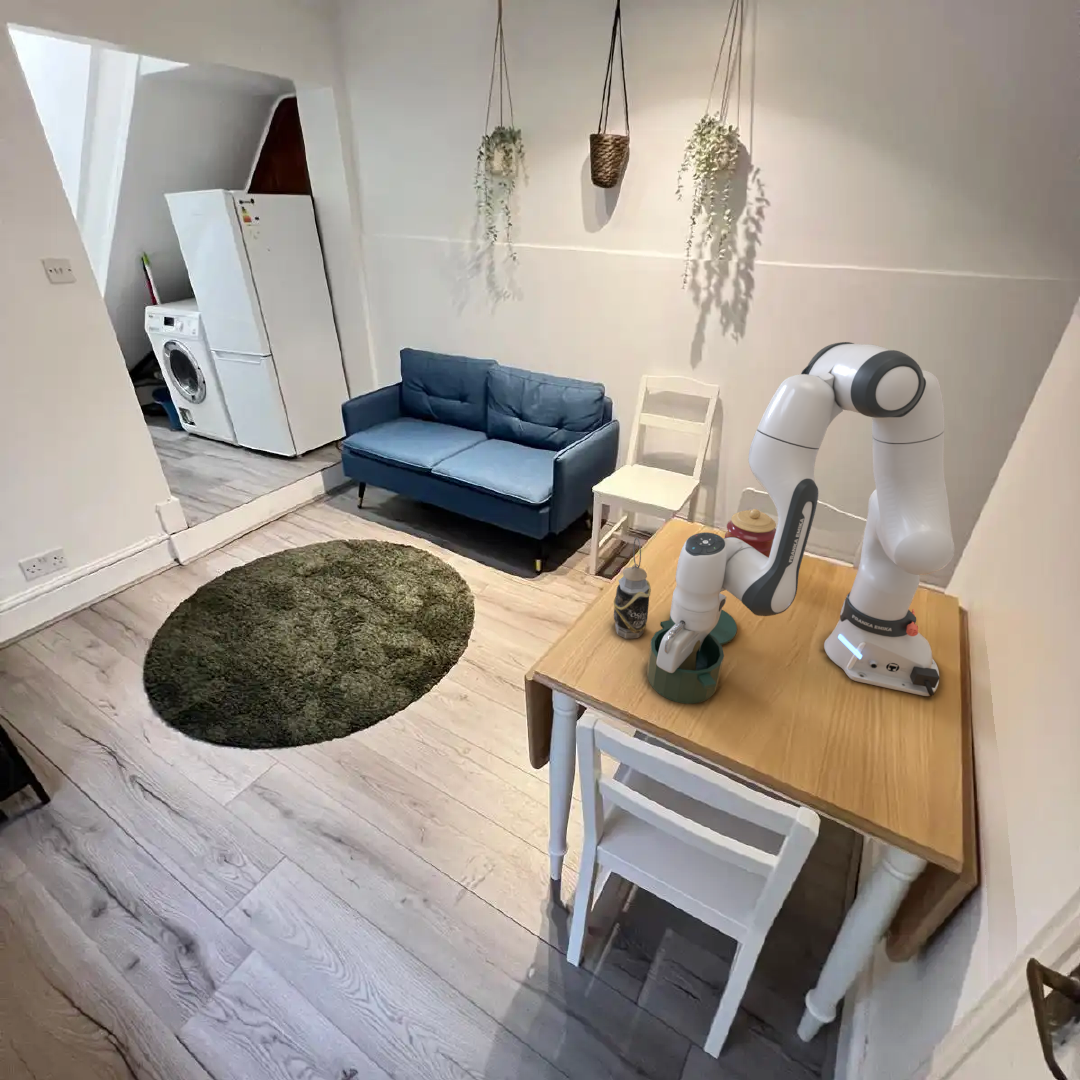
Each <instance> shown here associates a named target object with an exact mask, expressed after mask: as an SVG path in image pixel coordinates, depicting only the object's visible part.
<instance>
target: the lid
mask: <svg viewBox="0 0 1080 1080" xmlns="http://www.w3.org/2000/svg"><path fill="white" fill-rule="evenodd" d="M668 619H669V620H671V622H672V623H673V624H674V625H675V624H676V623H675V622H674V621H673V620H672V619H671V616H670V615H669V618H668ZM737 631H738V625H737V623H736V620H735V619H734V618H733V616H732V615H730V613H728V612H727V611H725V610H724V609H722V610H721V614H720V617H719V620H718V622H717V624H716V626H715V627H714V628H713V630H712V631H711V632H710V633H709V634H711V635H712V636H714V637H715V638H716V639H717V640H718V642H719V643H720V644H721V645H722V646H723V645H725V644H728V643H729V642H731V641H732V640H733V639H734V638H735V637H736V634H737Z"/></svg>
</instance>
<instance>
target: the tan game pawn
mask: <svg viewBox="0 0 1080 1080" xmlns="http://www.w3.org/2000/svg"><path fill="white" fill-rule="evenodd" d="M699 648H700V640H698V641H697V642H696V644H695V646H694V648H693V651H692V653H691V654H690V655H689V656H688V657H687V658H686V659H685V660H684V662H683V663H682V664H681V665H680V666H679V667H681V669H685V670H695V671H696V652H697V651H698V649H699Z"/></svg>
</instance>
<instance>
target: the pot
mask: <svg viewBox="0 0 1080 1080" xmlns="http://www.w3.org/2000/svg"><path fill="white" fill-rule="evenodd" d="M659 626H660V627H661V629H659V630H658V631H656V632H655V633H654V635H652V638H651V639H650V644H649V651H648V652H649V653H648V659H647V660H648V661H647V667H646V669H647V673H646V676H647V681H648V682H649V683H648V684H650V686H651V688H652V689H653V690H654V691H655V692H656V693H657V694H659V695H660V696H661V697H663V698H665V699H667V700H669V701H672V702H675V703H678V704H685V705H686V704H687V705H690V704H691V705H693V704H700V703H704V702H705V701H707V700H709V699H710V698H712V697H713V696H714V694H715V693H716V691H717V689H718V686H719V682H720V678H721V673H722V668H723V663H724V659H725V654H724V653H725V652H724V648H723V645H721V644H720V643H719V642H718V640H717V639H716V638H715V637H714V636H712V635H711V634H708V635H707V636H706V637H705V638H704V641H703V643H702V645H701V648H700V651H699V652H698V653H697V654H696V671H695V670H685V669H681V668H677V669H676V670H675V672H673V673H669V672H667V671H665V670H663V669H661V668H660V667H658V666H657V657H658V652H659V648H660V644H661V641H662V639H663V637H664V635H665V634H666V633H667V632H668V631H669V630H670V629H671V628H672V627H673V626H674V624H673V623H672V622H671V620H668V619H667V620H662V621H660V624H659Z"/></svg>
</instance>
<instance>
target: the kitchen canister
mask: <svg viewBox="0 0 1080 1080" xmlns="http://www.w3.org/2000/svg"><path fill="white" fill-rule="evenodd" d="M726 529H727V531H726V532H725V534H724V538H727V537H736V538H738V539H740V540H742V541H744V542H745V543H747V544H749V545H750V546H752V547H753V548H755V549H756V550H757V551H759V552H760V553H762V554H763V555H765V556H766V557H768V558H769V555H770V552H771V548H772V544H773V540H774V537H775V533H776V529H777V523H776V521H775V520H774V519H773V518H772V517H770V515H768V514H767V513H765V512H762V511H760V510H759V509H757V508H753V509H745V510H741V511H737V512H736V513H733V515H732V516H731V519H730V520H729V521H728V522H727V523H726Z"/></svg>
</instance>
